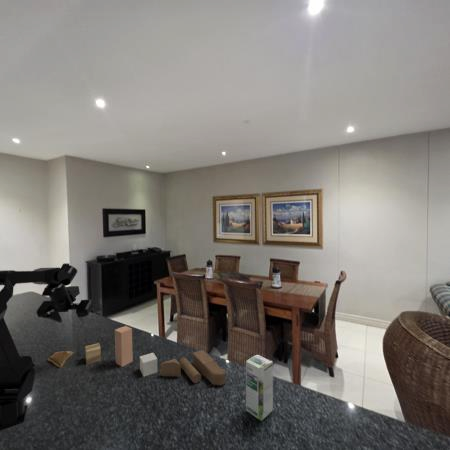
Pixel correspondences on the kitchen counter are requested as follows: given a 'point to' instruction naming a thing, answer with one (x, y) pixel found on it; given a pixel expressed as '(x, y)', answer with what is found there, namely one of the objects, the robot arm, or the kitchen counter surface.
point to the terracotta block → (123, 346)
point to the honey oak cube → (93, 353)
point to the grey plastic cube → (148, 364)
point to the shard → (60, 358)
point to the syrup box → (259, 386)
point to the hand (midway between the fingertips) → (72, 321)
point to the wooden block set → (201, 363)
